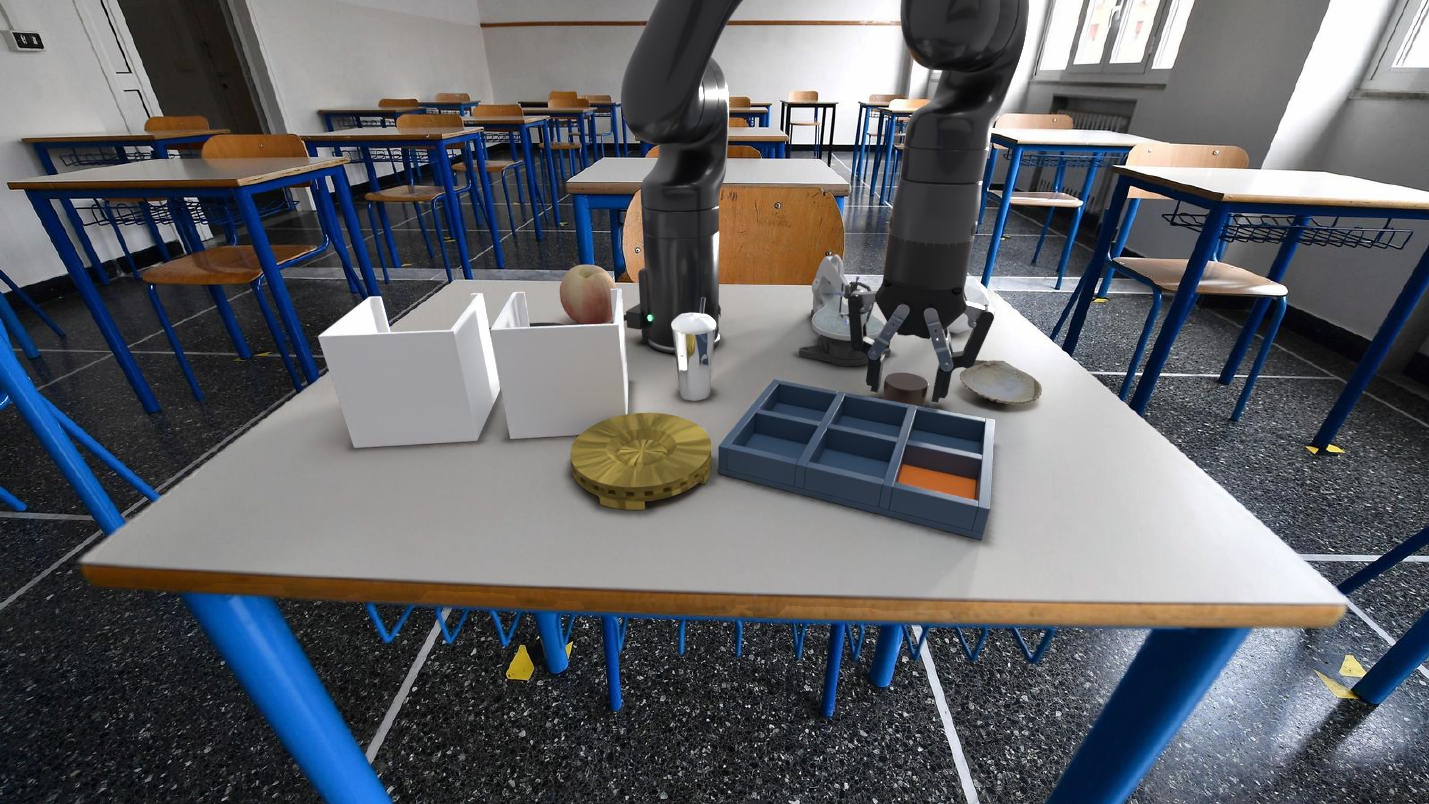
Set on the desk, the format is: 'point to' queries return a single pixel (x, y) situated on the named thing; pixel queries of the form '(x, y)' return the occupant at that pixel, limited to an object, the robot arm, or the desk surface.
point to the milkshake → (694, 353)
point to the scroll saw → (837, 317)
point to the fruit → (587, 294)
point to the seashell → (1001, 382)
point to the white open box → (474, 375)
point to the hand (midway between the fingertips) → (904, 393)
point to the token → (905, 388)
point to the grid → (867, 455)
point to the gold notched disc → (641, 458)
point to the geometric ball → (974, 295)
